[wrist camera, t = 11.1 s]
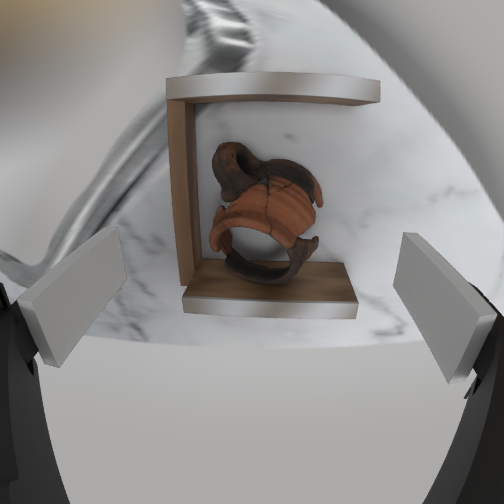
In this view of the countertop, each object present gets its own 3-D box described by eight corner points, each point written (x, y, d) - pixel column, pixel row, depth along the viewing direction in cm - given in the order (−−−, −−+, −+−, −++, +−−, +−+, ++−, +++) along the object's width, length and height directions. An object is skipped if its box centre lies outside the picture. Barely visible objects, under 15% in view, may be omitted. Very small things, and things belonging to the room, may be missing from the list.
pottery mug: (346, 213, 28) (333, 282, 23) (267, 237, 34) (241, 298, 29) (274, 102, 22) (236, 150, 17) (196, 150, 28) (149, 203, 23)
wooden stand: (189, 271, 32) (166, 311, 25) (178, 89, 24) (145, 81, 18) (341, 276, 30) (355, 319, 24) (354, 89, 23) (380, 80, 17)
